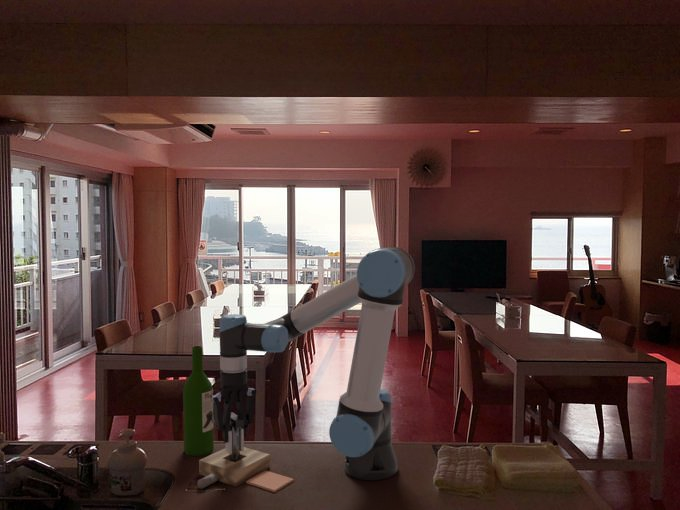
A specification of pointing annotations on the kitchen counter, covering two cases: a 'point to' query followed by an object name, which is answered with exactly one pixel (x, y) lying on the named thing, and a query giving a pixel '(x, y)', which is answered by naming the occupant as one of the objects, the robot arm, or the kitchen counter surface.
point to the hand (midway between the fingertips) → (234, 451)
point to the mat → (270, 481)
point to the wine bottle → (198, 409)
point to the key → (235, 436)
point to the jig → (232, 467)
